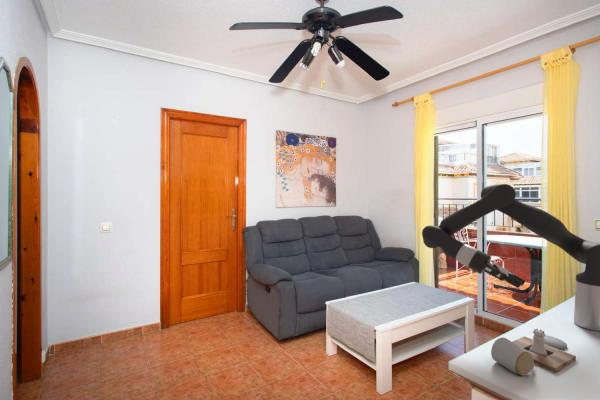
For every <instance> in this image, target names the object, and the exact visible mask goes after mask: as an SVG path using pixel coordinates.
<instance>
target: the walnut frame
mask: <svg viewBox="0 0 600 400" xmlns="http://www.w3.org/2000/svg"><path fill="white" fill-rule="evenodd" d="M511 342H513V343H515V344H517V345H518V346H520V347H522V348H524V349H525V350H527V351H528V352H529V353H530V354H531V355H532V356H533V359H534V364H535V366H536V365H537V366H538V367H541V368H542V369H545V370H547V371H550V372H552V373H554V374H556V373H558V372H559V371H561V370H563V369H564V368H566V367H568V366H569V365H571V364H572V363H574V362H576V361H577V356H576V355H574V354H571V353H569V352H567V351H564V350H559V349H556V348H554V347H551V346H548V345H546V344H544V348H545V350H546V352H547V354H546V355H547V357H546V358H545V357H542V356H540V355H537V354H535V353H533V352H530V347H531V346H532V345H533V342H534V340H533V338H530V337H527V336H525V335H524V336H521V337H519V338H517V339H514V340H512V341H511Z"/></svg>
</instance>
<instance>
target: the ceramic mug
mask: <svg viewBox="0 0 600 400" xmlns="http://www.w3.org/2000/svg"><path fill="white" fill-rule="evenodd" d="M528 351H529V350H528ZM528 351H527V350H525V349H524V348H522V347H520V346H518V345H517V344H515V343H513V342H512V341H511V340H510V339H508V338H506V337H498V338H497V339H496V340H495V341H494V343H492V347H491V351H490V355H491V358H492V359H493V361H495V362H496V363H498V364H500V365H501V366H503V367H504V368H507V369H508V370H510V371H511V372H513V373H514V374H517V375H519V376H527V375H528V374H530V372H531V371H532V370H534V369H535V366H536V364H534V359H533V356H532V355H531V354H530V353H529V352H528Z"/></svg>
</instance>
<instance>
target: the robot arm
mask: <svg viewBox="0 0 600 400" xmlns="http://www.w3.org/2000/svg"><path fill="white" fill-rule="evenodd" d="M516 196H517V193H516V190H515V188H514V187H513V186H512V185H511V184H507V183H496V184H490V185H487V186H485V187H484V188H483V189H482V190H481V192H480V199H479V200H477V201H475V202H473V203H472V204H469V205H467V206H465V207H462V208H460V209H458V210H457V211H455V212H453V213H451V214H449V215H447V216H446V217H444V218H443V219H442V220H441V221H440V222H439V223H440V224H439V226H436V225H426V226H424V227H423V229H422V231H421V235H422V236H421V237H422V241H423V244H424V245H425V247H427V248H429V249H436V248H440V249H441V250H442V253H444V255H446V256H447V257H450V258H452V259H454V260H456V261H457V262H458V263H460V264H461V265H463V266H465V267H466V268H469V269H470V270H472V271H474V272H476V273H478V274H483V273H486V274H488V275H490V276H492V277H494V278H496V279H497V280H499V281H501V282H505V283H508V284H510V285H511V286H513V287H515V288H516V289H518V288H520V287H522V286H524V284H525V283H526V280H525V279H524V278H521V277H520V276H517V275H515V274H514V273H513V271H510V270H508V269H507V268H505V267H503V266H500V265H499V264H497V263H491V260H492V256H491V255H489V254H488V253H485V252H483V251H481V250H479V249H478V248H476V247H474V246H472V245H468V244H466V243H464V242H463V241H460V240H458V239H456V238H454V237H453V236H454V234H456V233H458V232H460V231H461V230H462V229H464V228H466V227H468V226H469V225H470V224H472V223H473V222H476V221H477V220H479V219H481V218H483V217H484V216H486V215H488V214H490V213H492V212H495V211H499V212H500V213H502V214H504V215H506V216H508V217H509V218H511V219H513V220H514V221H516V222H517V223H518V224H520V225H522V226H524V228H526V229H527V230H529V231H530V232H532V233H534V234H535V235H537V236H539V237H541V238H542V239H544V240H546V241H547V242H549V243H551V244H553V245H555V246H557V247H558V248H560V249H561V250H562V251H564V252H566V253H567V254H568V255H569V256H570V257H572V258H573V259H574V260H576V261H577V262H579V263H581V264H584V265H585V268H584V271H583V272H578V273H576V275H575V291H574V308H573V323H574V324H575V325H576V326H578V327H581V328H584V329H588V330H591V331H598V332H600V242H594V241H589V240H586V239H583V238H582V237H579V236H578V235H576V234H574V233H572V232H571V231H570V230H569V229H568V228H567V227H566V225H565V224H564V223H563V222H562V221H561V220H560V219H559V218H557V217H556V216H554V215H552V214H551V213H549V212H547V211H545V210H543V209H541V208H538V207H536V206H533V205H529V204H527V203H524V202H521V201H519V200H517V199H516Z"/></svg>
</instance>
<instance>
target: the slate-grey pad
mask: <svg viewBox="0 0 600 400" xmlns="http://www.w3.org/2000/svg"><path fill="white" fill-rule="evenodd" d="M545 335H546V336H544V339H545V340H544V344H546V345H548V346H551V347H554V348H556V349H559V350H561V351H564V350H567V349H568V344H567V342H565V341H563V340H562V339H560V338H558V337H555V336H551V335H548V334H545ZM532 339H533V340H534V337H533V336H532Z"/></svg>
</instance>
